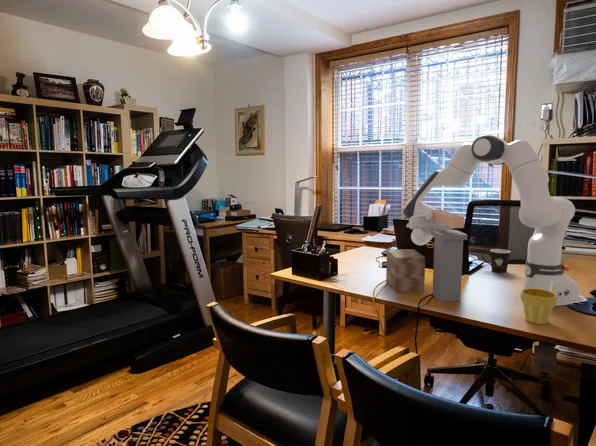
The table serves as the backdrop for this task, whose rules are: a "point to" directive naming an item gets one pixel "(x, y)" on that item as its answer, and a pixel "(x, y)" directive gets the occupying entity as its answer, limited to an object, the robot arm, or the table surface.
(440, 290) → the pedestal shelf
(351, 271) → the table surface
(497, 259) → the coffee mug
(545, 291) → the plant pot
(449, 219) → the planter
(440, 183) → the robot arm
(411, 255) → the walnut block
